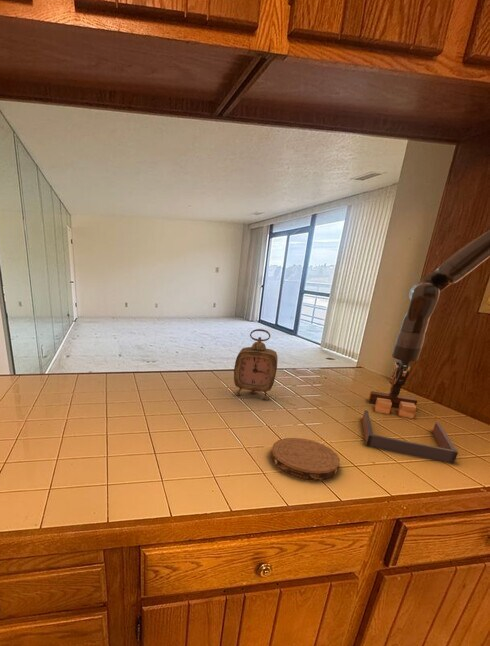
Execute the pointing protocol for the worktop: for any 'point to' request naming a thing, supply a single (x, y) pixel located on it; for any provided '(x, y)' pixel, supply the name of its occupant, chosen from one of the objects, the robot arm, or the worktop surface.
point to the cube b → (406, 409)
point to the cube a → (383, 405)
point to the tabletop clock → (255, 367)
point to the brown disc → (305, 459)
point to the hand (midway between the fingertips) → (394, 392)
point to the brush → (391, 397)
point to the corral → (412, 443)
